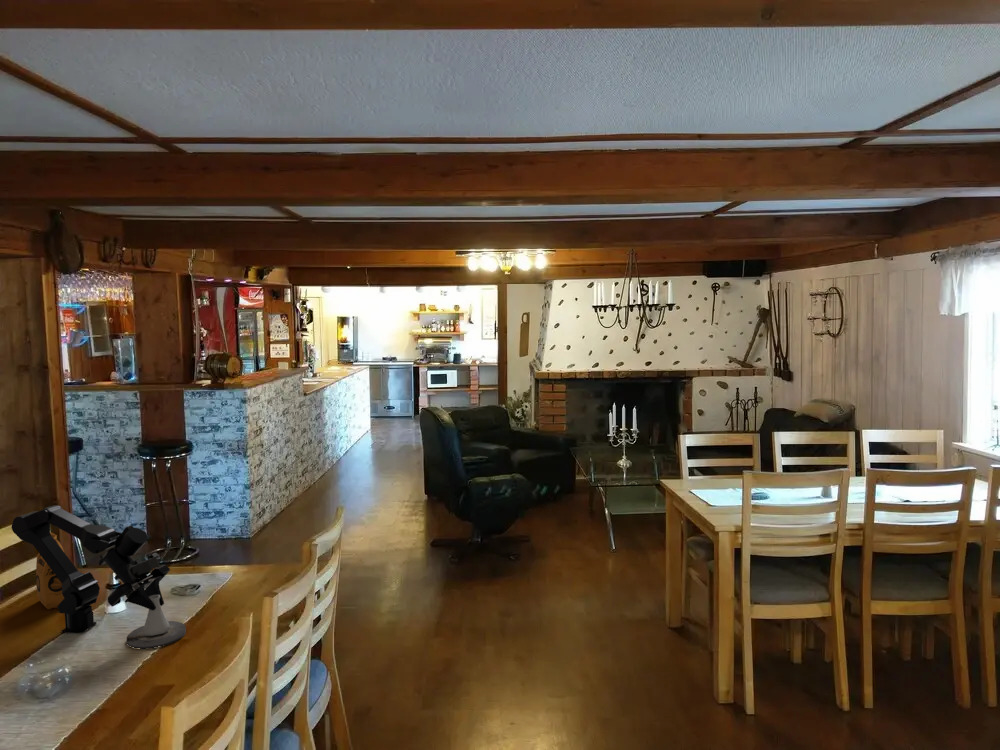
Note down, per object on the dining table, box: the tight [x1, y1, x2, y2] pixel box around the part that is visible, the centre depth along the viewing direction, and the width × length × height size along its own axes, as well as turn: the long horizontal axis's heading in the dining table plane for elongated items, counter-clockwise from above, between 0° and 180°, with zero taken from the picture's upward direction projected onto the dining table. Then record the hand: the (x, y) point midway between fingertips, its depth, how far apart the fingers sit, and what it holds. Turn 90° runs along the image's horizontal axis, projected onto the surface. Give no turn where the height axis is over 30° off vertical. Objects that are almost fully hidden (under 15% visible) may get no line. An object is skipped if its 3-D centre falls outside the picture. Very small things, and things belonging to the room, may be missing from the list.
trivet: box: [126, 620, 187, 650], centre depth 194 cm, size 15×15×1 cm
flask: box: [143, 595, 170, 636], centre depth 194 cm, size 7×7×10 cm
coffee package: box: [35, 531, 66, 610], centre depth 218 cm, size 10×12×22 cm
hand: (158, 607), depth 193 cm, fingers closed on flask, 3 cm apart
